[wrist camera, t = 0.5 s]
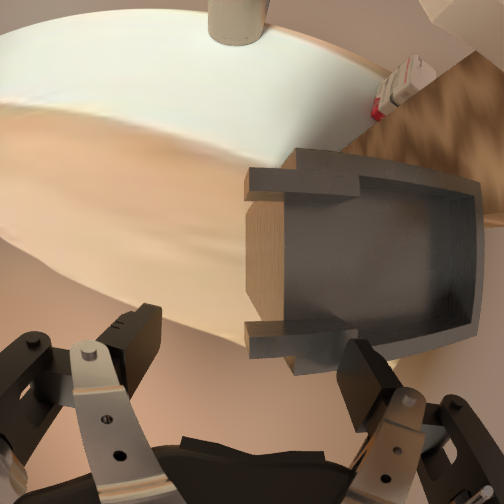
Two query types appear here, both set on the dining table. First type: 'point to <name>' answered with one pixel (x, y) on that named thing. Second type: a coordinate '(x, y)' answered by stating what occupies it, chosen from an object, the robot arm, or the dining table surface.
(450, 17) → the cream rectangular block
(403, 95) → the ink box
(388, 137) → the stand
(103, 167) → the dining table surface
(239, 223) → the dining table surface
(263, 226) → the tray
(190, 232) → the dining table surface
